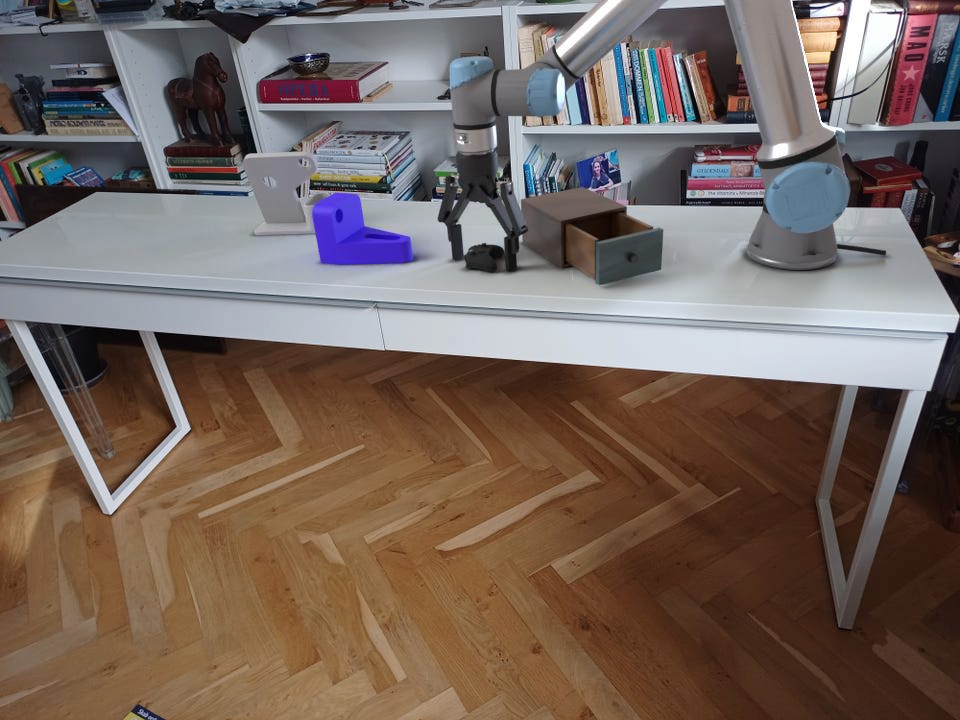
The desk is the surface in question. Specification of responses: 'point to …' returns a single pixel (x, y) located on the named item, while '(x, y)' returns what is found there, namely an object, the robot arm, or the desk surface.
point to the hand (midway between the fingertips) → (484, 263)
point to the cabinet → (560, 218)
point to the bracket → (354, 235)
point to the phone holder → (282, 191)
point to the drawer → (613, 247)
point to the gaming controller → (483, 257)
